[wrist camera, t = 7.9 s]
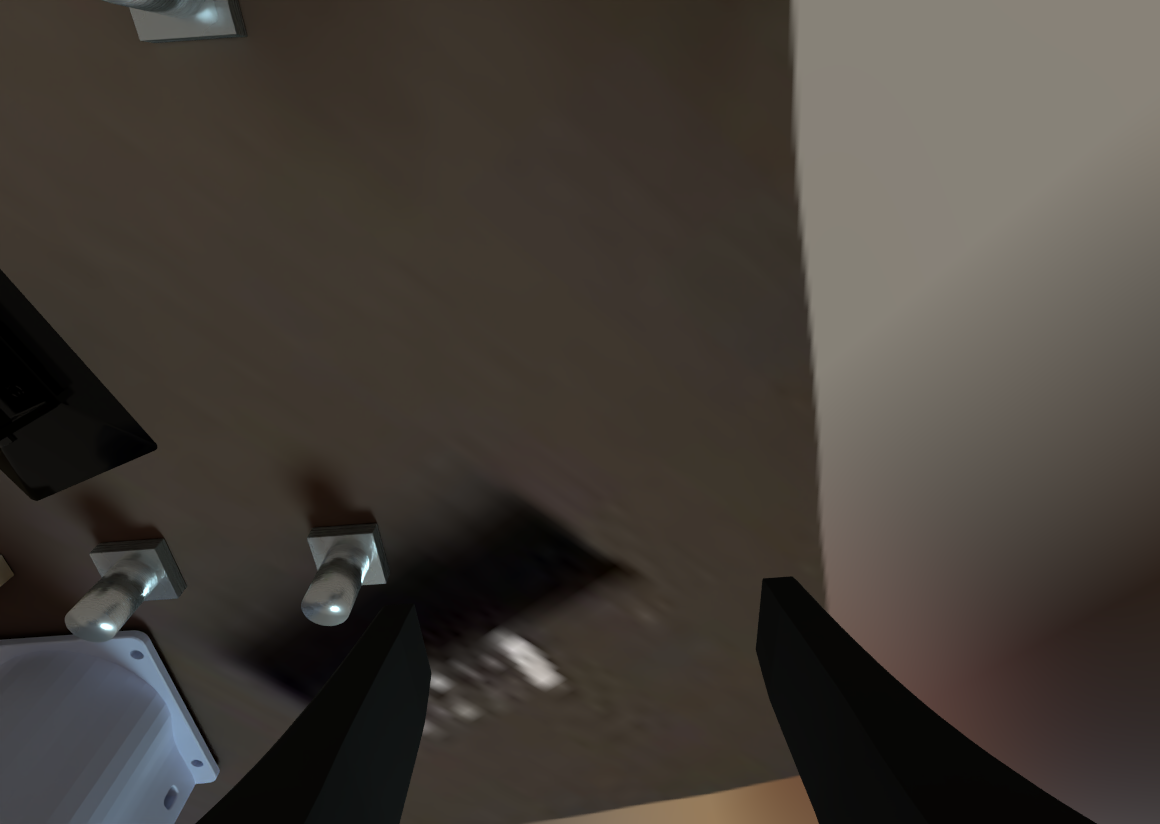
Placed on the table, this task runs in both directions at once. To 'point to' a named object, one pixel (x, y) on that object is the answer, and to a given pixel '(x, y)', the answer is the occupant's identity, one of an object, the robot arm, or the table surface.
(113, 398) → the black boxy piece
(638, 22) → the table surface
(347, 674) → the robot arm
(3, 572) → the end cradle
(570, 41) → the table surface
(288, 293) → the table surface
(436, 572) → the table surface
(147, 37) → the guide pins
